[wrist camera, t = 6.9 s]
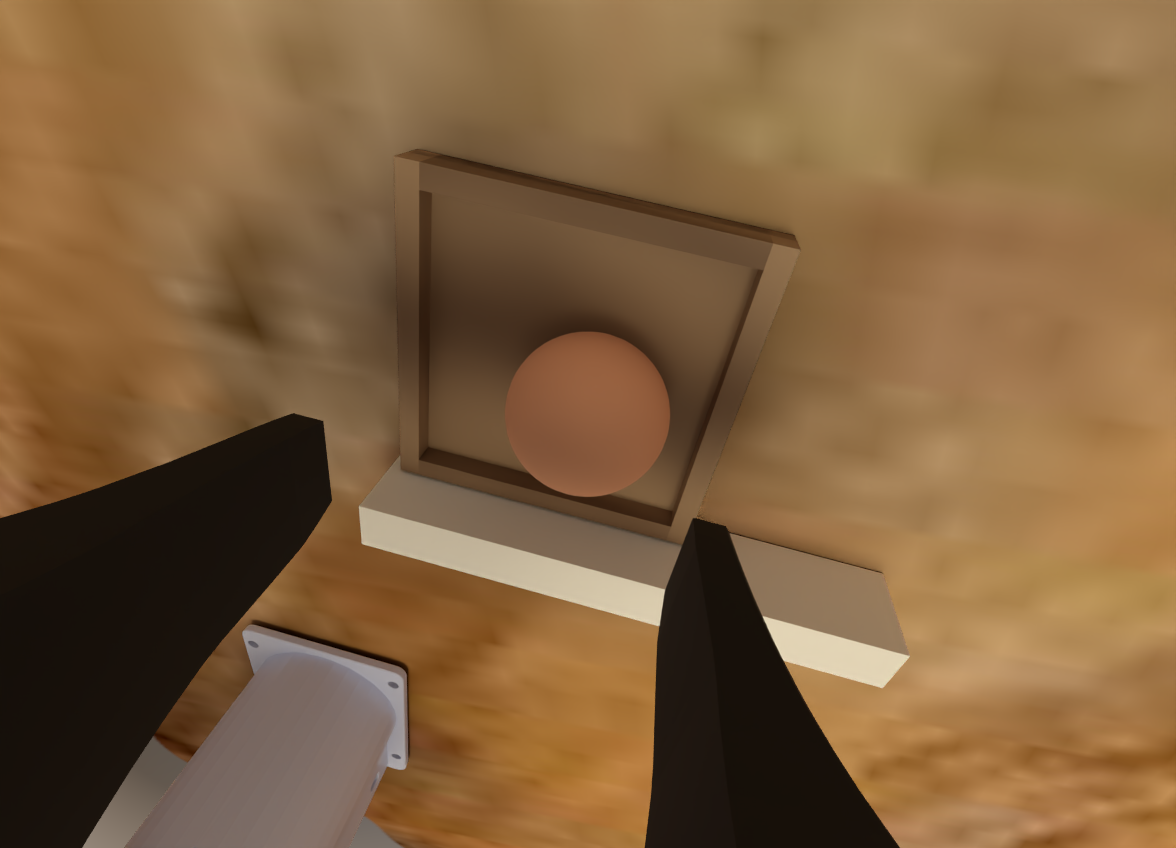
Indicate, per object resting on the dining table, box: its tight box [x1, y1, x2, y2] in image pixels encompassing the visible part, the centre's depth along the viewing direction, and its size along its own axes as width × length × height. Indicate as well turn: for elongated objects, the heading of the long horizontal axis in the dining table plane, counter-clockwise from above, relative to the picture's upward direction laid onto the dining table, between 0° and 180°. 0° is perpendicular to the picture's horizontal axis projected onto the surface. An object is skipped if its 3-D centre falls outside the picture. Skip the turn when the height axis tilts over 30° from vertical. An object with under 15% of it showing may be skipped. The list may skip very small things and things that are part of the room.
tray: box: [394, 149, 801, 545], centre depth 15 cm, size 9×9×1 cm
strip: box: [359, 456, 910, 688], centre depth 17 cm, size 2×16×3 cm, turn 80°
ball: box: [505, 332, 670, 497], centre depth 14 cm, size 4×4×4 cm
